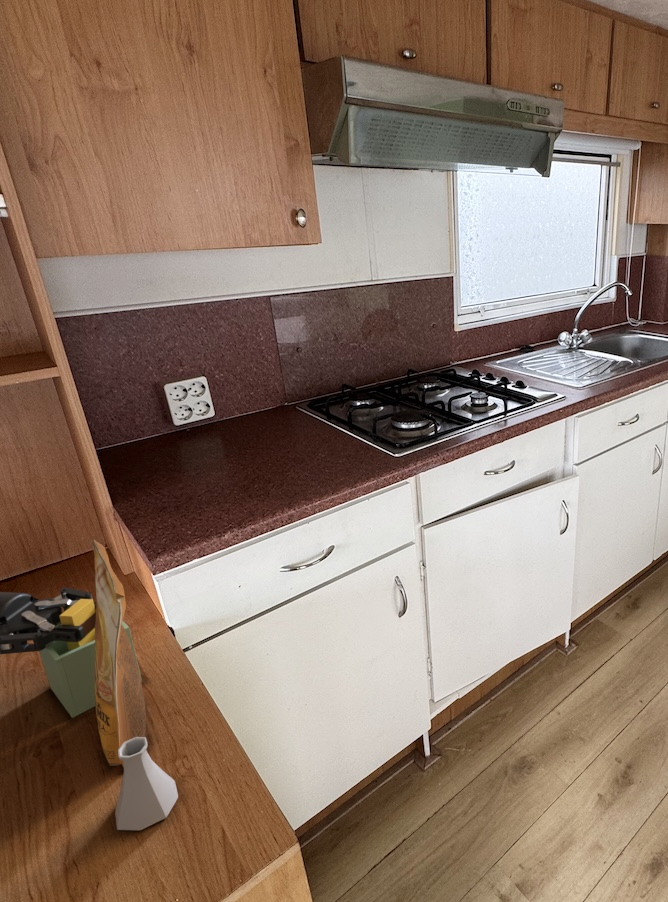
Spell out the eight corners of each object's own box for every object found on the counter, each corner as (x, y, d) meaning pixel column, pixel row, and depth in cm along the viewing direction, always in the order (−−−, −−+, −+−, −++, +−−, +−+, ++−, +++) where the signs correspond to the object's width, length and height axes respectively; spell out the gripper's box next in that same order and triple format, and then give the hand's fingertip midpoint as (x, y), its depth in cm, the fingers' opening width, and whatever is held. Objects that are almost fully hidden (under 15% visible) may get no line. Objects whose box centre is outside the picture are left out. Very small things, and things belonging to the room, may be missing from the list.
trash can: (72, 718, 88) (55, 660, 84) (50, 687, 94) (33, 632, 90) (142, 681, 95) (129, 627, 92) (118, 655, 101) (105, 603, 97)
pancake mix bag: (150, 680, 95) (115, 529, 86) (163, 763, 81) (123, 592, 71) (101, 697, 92) (60, 541, 82) (105, 787, 77) (55, 610, 68)
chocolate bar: (74, 675, 91) (58, 616, 87) (95, 655, 95) (80, 598, 92) (87, 675, 91) (71, 616, 87) (107, 656, 95) (93, 599, 92)
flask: (183, 775, 79) (171, 718, 76) (173, 823, 72) (158, 763, 69) (123, 789, 77) (107, 731, 73) (106, 840, 70) (88, 779, 67)
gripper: (34, 608, 99) (130, 613, 98) (-45, 667, 85) (66, 673, 85) (23, 570, 96) (122, 575, 96) (-60, 625, 83) (54, 631, 82)
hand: (95, 621), depth 90 cm, fingers open, 5 cm apart
